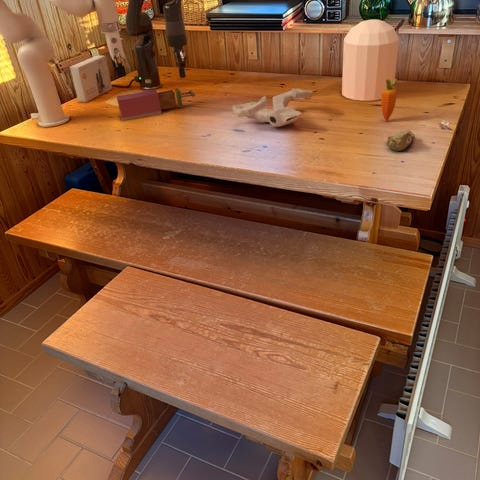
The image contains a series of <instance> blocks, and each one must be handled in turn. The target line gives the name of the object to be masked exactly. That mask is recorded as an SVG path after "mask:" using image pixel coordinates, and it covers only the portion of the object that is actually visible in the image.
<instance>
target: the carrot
mask: <svg viewBox="0 0 480 480" xmlns="http://www.w3.org/2000/svg"><path fill="white" fill-rule="evenodd" d="M397 81H398V78H395V80H394V82H393V84H391V82H390V79H386V83H387V85H386V87H387V88H386V89H384V90H383V91H382V98H381V99H380V101H381V102H380V104H381V112H382V113H381V114H382V117H383V119H384V120H385V121H386V122H388V121H389V119H390V118H391V117H392V114H393V112H394V109H395V106H396V101H397V96H398V95H397V94H398V91H397V89H395V85H396V83H397ZM389 85H390V86H389ZM391 85H392V86H391ZM393 86H394V88H393Z"/></svg>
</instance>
